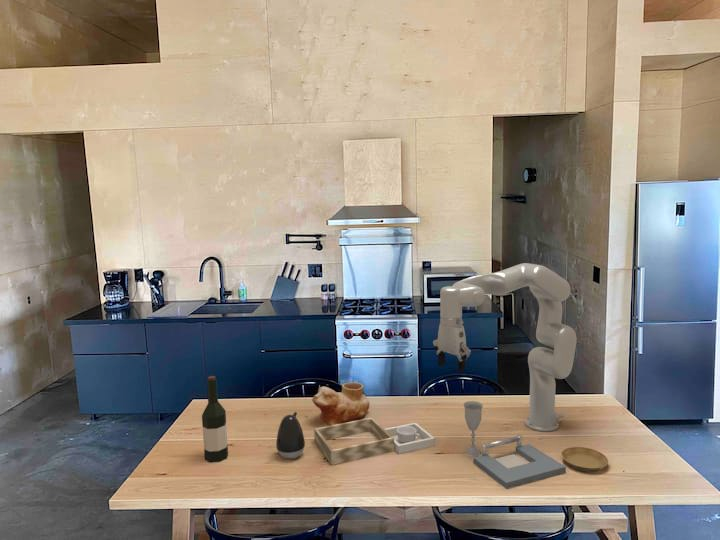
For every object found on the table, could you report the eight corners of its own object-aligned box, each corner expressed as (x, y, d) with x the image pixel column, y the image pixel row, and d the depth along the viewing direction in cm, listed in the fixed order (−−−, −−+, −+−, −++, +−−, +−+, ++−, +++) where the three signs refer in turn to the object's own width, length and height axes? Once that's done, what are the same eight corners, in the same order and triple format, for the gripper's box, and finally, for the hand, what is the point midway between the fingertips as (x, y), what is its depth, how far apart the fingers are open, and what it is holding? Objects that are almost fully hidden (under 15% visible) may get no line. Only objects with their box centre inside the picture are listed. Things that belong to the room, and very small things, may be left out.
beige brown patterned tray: (372, 429, 210) (371, 417, 210) (394, 451, 192) (394, 438, 191) (314, 441, 201) (314, 428, 201) (331, 465, 183) (331, 451, 182)
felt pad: (513, 454, 188) (513, 453, 188) (531, 466, 179) (531, 465, 179) (492, 459, 184) (492, 459, 184) (509, 471, 176) (509, 471, 176)
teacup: (390, 445, 197) (389, 433, 196) (398, 434, 206) (398, 423, 205) (415, 449, 193) (415, 437, 192) (423, 438, 202) (423, 426, 202)
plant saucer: (613, 476, 172) (614, 469, 172) (566, 473, 174) (566, 466, 174) (600, 454, 186) (601, 447, 186) (557, 452, 189) (557, 445, 188)
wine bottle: (207, 465, 185) (201, 382, 181) (202, 455, 192) (197, 375, 188) (230, 459, 189) (226, 378, 185) (225, 449, 196) (220, 371, 192)
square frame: (415, 429, 209) (415, 422, 209) (434, 445, 195) (434, 438, 195) (381, 437, 204) (380, 429, 203) (398, 454, 190) (398, 446, 189)
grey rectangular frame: (529, 449, 191) (529, 443, 191) (565, 472, 175) (565, 466, 174) (473, 462, 182) (473, 457, 182) (506, 488, 166) (506, 482, 166)
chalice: (482, 458, 185) (483, 409, 183) (463, 457, 186) (463, 408, 184) (482, 448, 192) (482, 401, 190) (463, 447, 194) (463, 400, 191)
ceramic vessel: (306, 420, 221) (304, 385, 219) (358, 405, 235) (358, 373, 233) (322, 431, 210) (321, 395, 207) (376, 415, 224) (375, 381, 222)
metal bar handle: (519, 450, 191) (519, 434, 190) (522, 452, 189) (522, 436, 188) (480, 459, 184) (480, 443, 184) (483, 461, 183) (483, 445, 182)
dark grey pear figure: (310, 450, 194) (308, 411, 192) (297, 464, 184) (296, 422, 182) (285, 446, 197) (283, 408, 195) (271, 460, 188) (269, 419, 185)
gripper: (477, 323, 182) (477, 371, 185) (441, 315, 196) (441, 360, 198) (462, 327, 178) (462, 376, 180) (426, 318, 192) (426, 364, 194)
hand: (451, 368), depth 189 cm, fingers open, 9 cm apart
